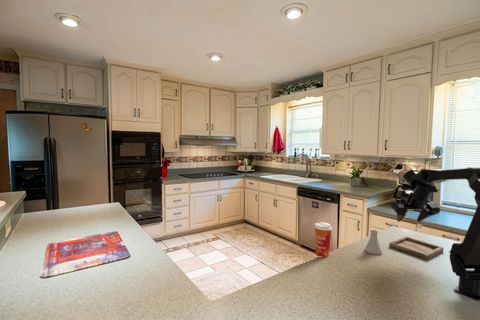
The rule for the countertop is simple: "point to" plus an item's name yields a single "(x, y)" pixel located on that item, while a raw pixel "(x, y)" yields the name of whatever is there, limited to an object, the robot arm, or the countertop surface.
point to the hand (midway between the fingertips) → (408, 221)
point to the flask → (373, 244)
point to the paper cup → (322, 238)
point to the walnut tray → (416, 247)
